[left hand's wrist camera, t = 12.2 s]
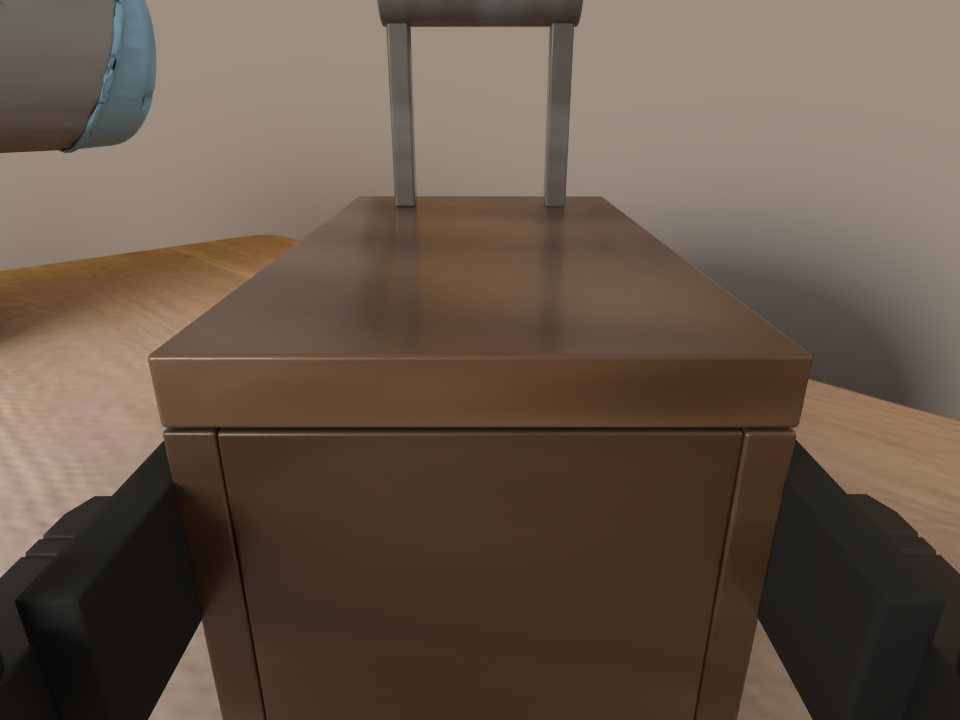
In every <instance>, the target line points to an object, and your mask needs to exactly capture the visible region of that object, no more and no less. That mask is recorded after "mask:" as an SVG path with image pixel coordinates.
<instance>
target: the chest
mask: <svg viewBox="0 0 960 720" xmlns="http://www.w3.org/2000/svg"><path fill="white" fill-rule="evenodd" d="M163 437H164V442H165V447H166V452H167V456H168V461H169V466H170V471H171V475H172V480H173V482H174V484H175V489H176V494H177V499H178V504H179V508H180V513H181V518H182V523H183V528H184V532H185V537H186V542H187V547H188V551H189V556H190V561H191V566H192V571H193V575H194V580H195V585H196V590H197V594H198V599H199V604H200V609H201V614H202V623H203V628H204V633H205V637H206V642H207V647H208V652H209V656H210V661H211V666H212V671H213V676H214V680H215V685H216V690H217V695H218V699H219V704H220V709H221V714H222V718H223V720H737V716H738V711H739V707H740V702H741V697H742V692H743V688H744V683H745V678H746V673H747V669H748V664H749V659H750V654H751V649H752V645H753V640H754V635H755V630H756V626H757V621H758V615H759V610H760V605H761V600H762V596H763V591H764V586H765V581H766V577H767V572H768V567H769V562H770V557H771V553H772V548H773V543H774V538H775V534H776V529H777V524H778V519H779V514H780V510H781V505H782V500H783V495H784V491H785V486H786V481H787V478H788V473H789V468H790V463H791V459H792V454H793V449H794V444H795V439H796V433H795V431H794V430H793V429H792V428H791V427H168V428H167V429H166V430H165V431H164V433H163Z"/></svg>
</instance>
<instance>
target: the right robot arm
mask: <svg viewBox="0 0 960 720" xmlns="http://www.w3.org/2000/svg"><path fill="white" fill-rule="evenodd" d="M155 79H156V46H155V38H154V31H153V25H152V21H151V17H150V13H149V10H148V7H147V4H146V2H145V0H0V153H9V152H30V151H51V150H59V151H62V152H64V153H71V152H74V151H76V150H78V149H82V148H92V147H102V146H111V145H117V144H120V143H123V142H125V141H127V140H128V139H130V138H131V137H132V136H134V135H135V134H136V133H137V131H138V130H139V129H140V128H141V126H142V125H143V123H144V121H145V119H146V117H147V115H148V112H149V109H150V106H151V101H152V95H153V91H154V88H155Z"/></svg>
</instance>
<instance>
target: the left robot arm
mask: <svg viewBox="0 0 960 720" xmlns="http://www.w3.org/2000/svg"><path fill="white" fill-rule="evenodd" d="M758 619H759V621H760V622H761V624H762V626H763V628H764V630H765V632H766V634H767V635H768V637H769V639H770V641H771V643H772V645H773V647H774V648H775V650H776V652H777V654H778V656H779V658H780V660H781V661H782V663H783V665H784V667H785V669H786V671H787V673H788V674H789V676H790V678H791V680H792V682H793V684H794V686H795V687H796V689H797V691H798V693H799V695H800V697H801V699H802V700H803V702H804V704H805V706H806V708H807V710H808V712H809V713H810V715H811V717H812V719H813V720H960V574H959V573H958V572H957V571H956V570H955V569H954V568H953V567H952V566H951V565H950V564H949V563H948V562H947V561H946V560H945V559H944V558H943V557H942V556H941V555H936V550H935V549H934V548H933V547H931V546H930V545H929V544H928V543H927V542H926V541H925V540H924V539H923V538H922V537H918V533H917V532H916V531H915V530H914V529H913V528H912V527H911V526H910V525H909V524H908V523H907V522H906V521H905V520H904V519H903V518H902V517H901V516H900V515H899V514H898V513H897V512H895V511H894V510H892V509H890V508H889V507H887V506H885V505H884V504H882V503H880V502H878V501H877V500H875V499H873V498H872V497H870V496H868V495H867V494H846V493H845V491H844V490H843V489H842V488H841V487H840V486H839V485H838V484H837V483H836V482H835V481H834V480H833V479H832V478H831V477H830V475H829V474H828V473H827V472H826V471H825V470H824V469H823V468H822V467H821V466H820V465H819V464H818V463H817V462H816V461H815V459H814V458H813V457H812V456H811V455H810V454H809V453H808V452H807V451H806V450H805V449H804V448H803V447H802V446H801V445H800V443H799V442H798V441H797V440H796V439H795V444H794V449H793V454H792V459H791V463H790V468H789V473H788V478H787V481H786V486H785V491H784V495H783V500H782V505H781V510H780V514H779V519H778V524H777V529H776V534H775V538H774V543H773V548H772V553H771V557H770V562H769V567H768V572H767V577H766V581H765V586H764V591H763V596H762V600H761V605H760V610H759V615H758ZM201 620H202V614H201V609H200V604H199V599H198V594H197V590H196V585H195V580H194V575H193V571H192V566H191V561H190V556H189V551H188V547H187V542H186V537H185V532H184V528H183V523H182V518H181V513H180V508H179V504H178V499H177V494H176V489H175V484H174V482H173V480H172V475H171V471H170V466H169V461H168V456H167V452H166V447H165V442H164V441H163V442H162V443H161V444H160V445H159V446H158V447H157V449H156V450H155V451H154V452H153V453H152V454H151V455H150V456H149V457H148V458H147V459H146V460H145V461H144V462H143V463H142V465H141V466H140V467H139V468H138V469H137V470H136V471H135V472H134V473H133V474H132V475H131V476H130V477H129V478H128V480H127V481H126V482H125V483H124V484H123V485H122V486H121V487H120V488H119V489H118V490H117V491H116V492H115V493H114V494H113V496H95V497H93V498H91V499H90V500H88V501H86V502H85V503H83V504H81V505H80V506H78V507H76V508H74V509H73V510H71V511H69V512H68V513H66V514H65V515H64V516H63V517H62V518H61V519H60V520H59V521H58V522H56V523H55V524H54V525H53V526H52V527H51V528H50V529H49V530H48V531H47V532H46V533H45V534H44V538H43V539H39V540H38V541H37V542H36V543H35V544H34V545H33V546H32V547H31V548H30V549H29V550H28V551H27V552H26V556H25V557H21V558H20V559H19V560H18V561H17V562H16V563H15V564H14V565H13V566H12V567H11V568H10V569H9V570H8V571H7V572H6V573H5V574H4V575H3V576H2V577H1V578H0V720H148V718H149V717H150V715H151V713H152V711H153V709H154V707H155V705H156V704H157V702H158V700H159V698H160V696H161V694H162V692H163V691H164V689H165V687H166V685H167V683H168V681H169V679H170V678H171V676H172V674H173V672H174V670H175V668H176V666H177V665H178V663H179V661H180V659H181V657H182V655H183V653H184V652H185V650H186V648H187V646H188V644H189V642H190V640H191V639H192V637H193V635H194V633H195V631H196V629H197V627H198V626H199V624H200V622H201Z"/></svg>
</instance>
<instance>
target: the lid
mask: <svg viewBox="0 0 960 720" xmlns="http://www.w3.org/2000/svg"><path fill="white" fill-rule="evenodd" d="M377 1H378V8H379V14H380V19H381V23H382V25H383V26H384V27H387V46H388V67H389V87H390V107H391V128H392V149H393V169H394V189H395V197H358V198H356V199H355V200H354V201H352V202H351V203H350V204H348V205H347V206H346V207H344V208H343V209H342V210H340V211H339V212H338V213H336V214H335V215H334V216H332V217H331V218H330V219H328V220H327V221H326V222H325V223H323V224H322V225H321V226H319V227H318V228H317V229H315V230H314V231H313V232H311V233H310V234H309V235H307V236H306V237H305V238H303V239H302V240H301V241H299V242H298V243H297V244H295V245H294V246H293V247H291V248H290V249H289V250H287V251H286V252H285V253H284V254H282V255H281V256H280V257H278V258H277V259H276V260H274V261H273V262H272V263H270V264H269V265H268V266H266V267H265V268H264V269H262V270H261V271H260V272H258V273H257V274H256V275H254V276H253V277H252V278H250V279H249V280H248V281H247V282H245V283H244V284H243V285H241V286H240V287H239V288H237V289H236V290H235V291H233V292H232V293H231V294H229V295H228V296H227V297H225V298H224V299H223V300H221V301H220V302H219V303H217V304H216V305H215V306H213V307H212V308H211V309H210V310H208V311H207V312H206V313H204V314H203V315H202V316H200V317H199V318H198V319H196V320H195V321H194V322H192V323H191V324H190V325H188V326H187V327H186V328H184V329H183V330H182V331H180V332H179V333H178V334H176V335H175V336H174V337H173V338H171V339H170V340H169V341H167V342H166V343H165V344H163V345H162V346H161V347H159V348H158V349H157V350H155V351H154V352H153V353H151V354H150V355H149V358H148V362H149V366H150V371H151V376H152V381H153V385H154V390H155V395H156V400H157V405H158V409H159V414H160V419H161V424H162V425H163V426H164V427H797V426H798V424H799V421H800V416H801V411H802V407H803V402H804V397H805V392H806V388H807V383H808V378H809V373H810V369H811V364H812V356H811V355H810V354H809V353H808V352H806V351H805V350H804V349H802V348H801V347H800V346H798V345H797V344H796V343H794V342H793V341H792V340H790V339H789V338H788V337H787V336H785V335H784V334H783V333H781V332H780V331H779V330H777V329H776V328H775V327H773V326H772V325H771V324H769V323H768V322H767V321H765V320H764V319H763V318H761V317H760V316H759V315H757V314H756V313H755V312H753V311H752V310H751V309H750V308H748V307H747V306H746V305H744V304H743V303H742V302H740V301H739V300H738V299H736V298H735V297H734V296H732V295H731V294H730V293H728V292H727V291H726V290H724V289H723V288H722V287H720V286H719V285H718V284H716V283H715V282H714V281H712V280H711V279H710V278H708V277H707V276H706V275H705V274H703V273H702V272H701V271H699V270H698V269H697V268H695V267H694V266H693V265H691V264H690V263H689V262H687V261H686V260H685V259H683V258H682V257H681V256H679V255H678V254H677V253H675V252H674V251H673V250H672V249H670V248H669V247H668V246H666V245H665V244H664V243H662V242H661V241H660V240H658V239H657V238H656V237H654V236H653V235H652V234H650V233H649V232H648V231H646V230H645V229H644V228H642V227H641V226H640V225H638V224H637V223H636V222H634V221H633V220H632V219H630V218H629V217H628V216H626V215H625V214H624V213H623V212H621V211H620V210H619V209H617V208H616V207H615V206H613V205H612V204H611V203H609V202H608V201H607V200H605V199H604V198H603V197H566V178H567V157H568V137H569V116H570V96H571V76H572V55H573V34H574V27H577V25H578V23H579V21H580V16H581V11H582V4H583V0H377ZM410 27H550V37H549V64H548V92H547V120H546V147H545V174H544V197H417V195H416V168H415V140H414V113H413V85H412V57H411V30H410Z"/></svg>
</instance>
